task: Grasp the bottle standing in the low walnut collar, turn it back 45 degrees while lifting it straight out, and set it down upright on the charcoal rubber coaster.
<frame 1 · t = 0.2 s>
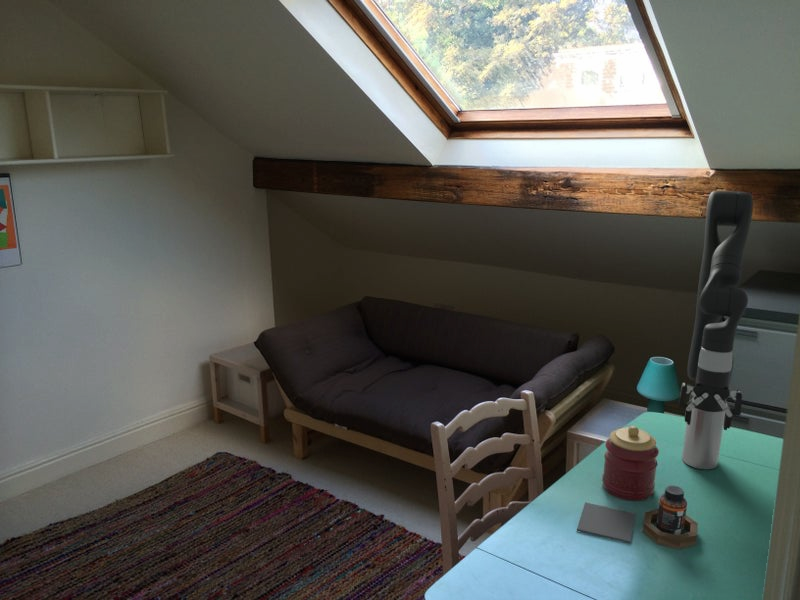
hand: (706, 426, 176), 18 cm above the table, tool pointing down, fingers open, 8 cm apart
supplement bottle: (669, 533, 162), resting in collar
canister: (627, 488, 180), on the table
collar: (669, 532, 162), on the table
coaster: (606, 523, 165), on the table
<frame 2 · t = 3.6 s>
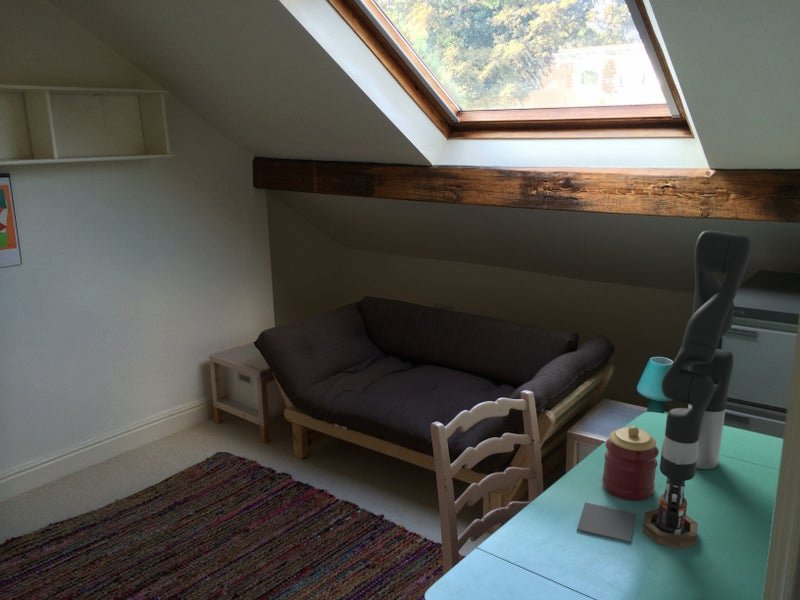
hand: (671, 518, 161), 4 cm above the table, tool pointing down, fingers closed on supplement bottle, 6 cm apart
supplement bottle: (669, 533, 162), resting in collar, touching gripper
everything else where it was.
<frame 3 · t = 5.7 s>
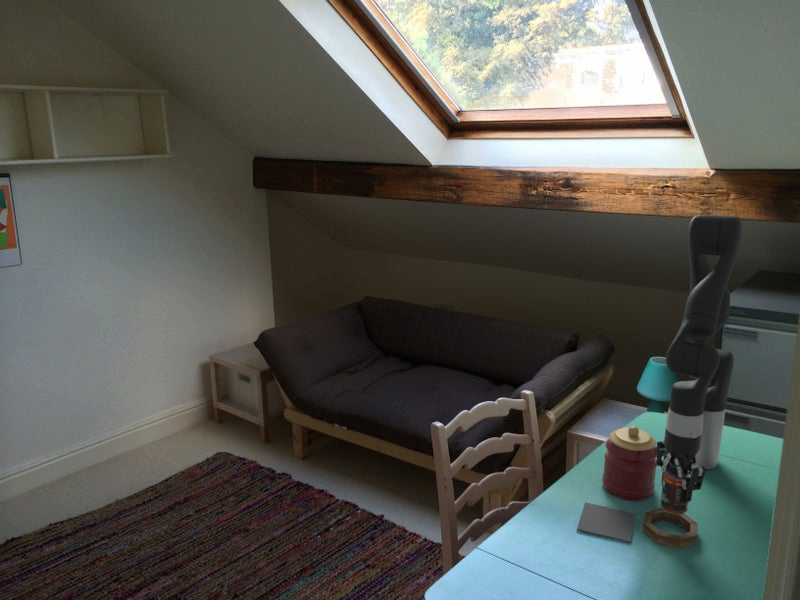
hand: (675, 493, 159), 10 cm above the table, tool pointing down, fingers closed on supplement bottle, 6 cm apart
supplement bottle: (673, 508, 160), point 6 cm above the table, touching gripper
everything else where it was.
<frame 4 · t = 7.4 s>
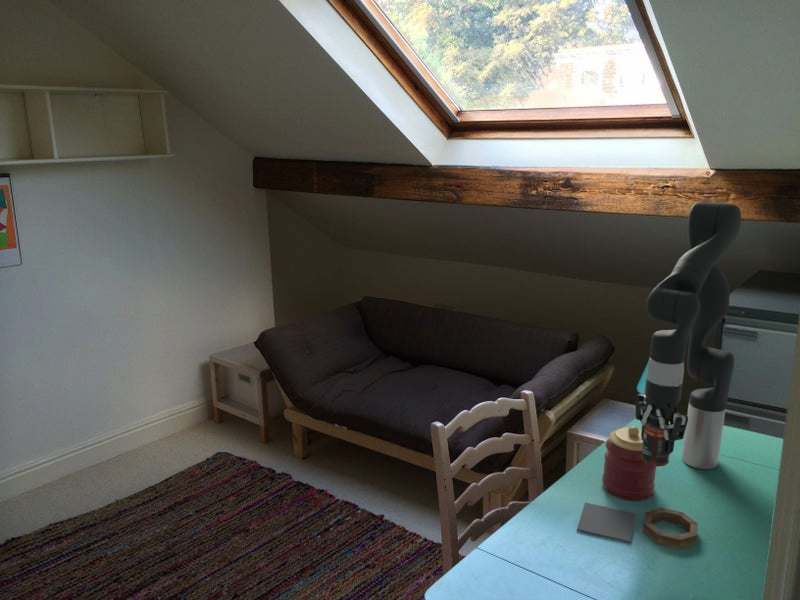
hand: (656, 446, 157), 22 cm above the table, tool pointing down, fingers closed on supplement bottle, 6 cm apart
supplement bottle: (654, 461, 158), point 18 cm above the table, touching gripper
everything else where it was.
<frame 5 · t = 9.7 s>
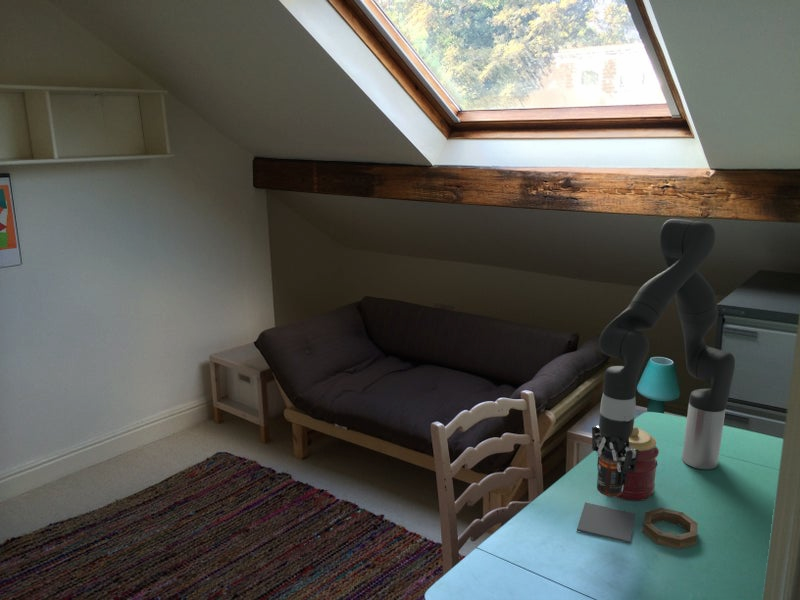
hand: (611, 477, 162), 12 cm above the table, tool pointing down, fingers closed on supplement bottle, 6 cm apart
supplement bottle: (609, 491, 163), point 8 cm above the table, touching gripper
everything else where it was.
when the fingers open (6 cm above the table, at t = 11.5 s): supplement bottle drops 2 cm, resting on coaster.
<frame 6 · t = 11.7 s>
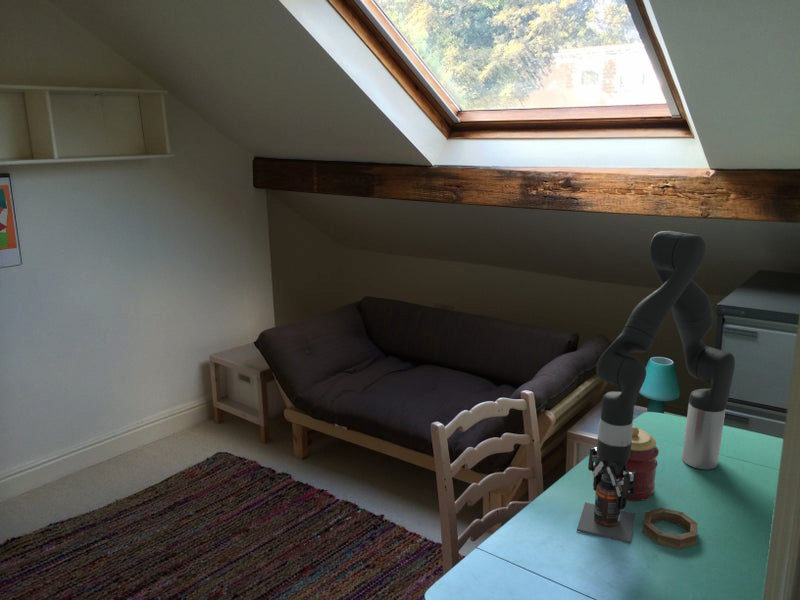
hand: (608, 499, 164), 6 cm above the table, tool pointing down, fingers open, 8 cm apart
supplement bottle: (606, 521, 166), resting on coaster
everything else where it was.
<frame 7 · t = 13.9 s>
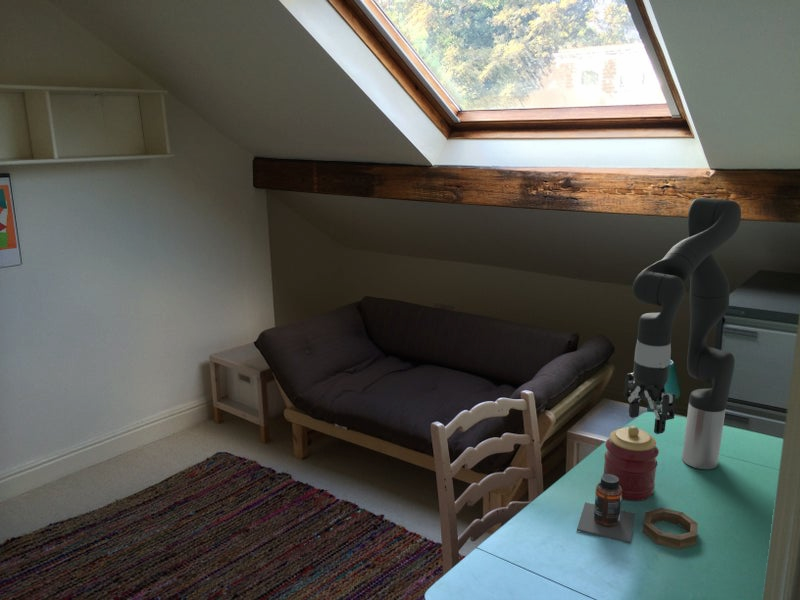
hand: (646, 424, 160), 25 cm above the table, tool pointing down, fingers open, 8 cm apart
nothing on the table moved.
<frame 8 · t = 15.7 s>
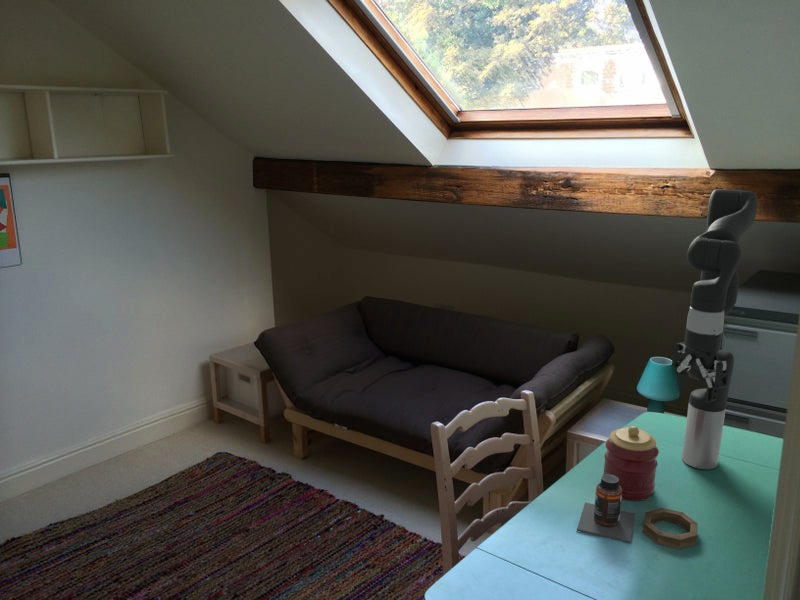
hand: (695, 394, 159), 32 cm above the table, tool pointing down, fingers open, 8 cm apart
nothing on the table moved.
at the end: supplement bottle inside the target area on the coaster (0.2 cm from its centre), point 0.4 cm above the coaster's base; supplement bottle tilted 0°; the gripper is holding nothing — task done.
